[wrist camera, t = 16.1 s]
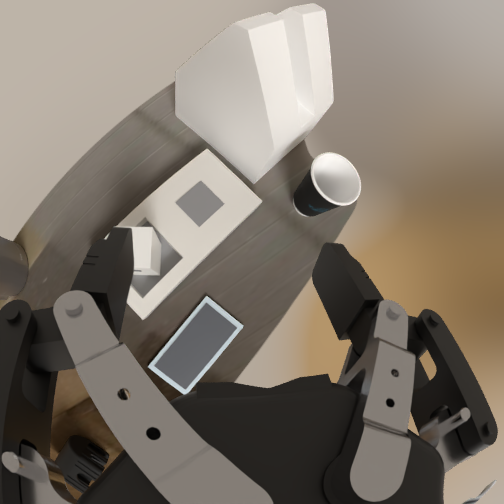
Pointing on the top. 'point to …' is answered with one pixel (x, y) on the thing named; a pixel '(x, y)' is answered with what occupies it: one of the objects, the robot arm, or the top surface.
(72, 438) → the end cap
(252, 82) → the milk carton
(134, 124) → the top surface
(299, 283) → the top surface
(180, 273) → the outlet strip
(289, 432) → the robot arm
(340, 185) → the dixie cup
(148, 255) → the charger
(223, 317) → the phone
